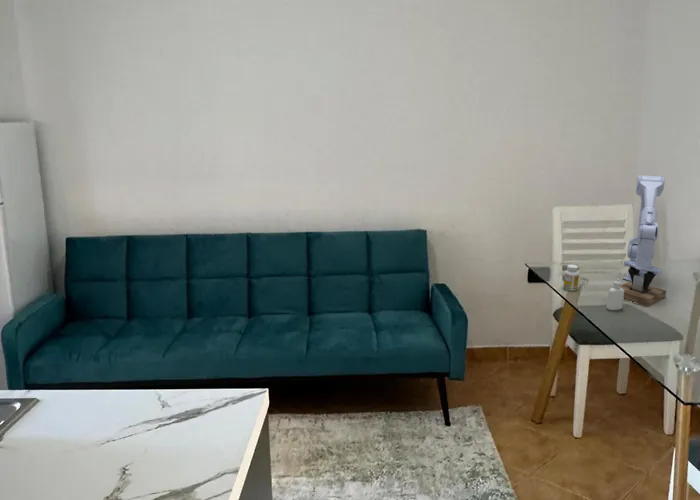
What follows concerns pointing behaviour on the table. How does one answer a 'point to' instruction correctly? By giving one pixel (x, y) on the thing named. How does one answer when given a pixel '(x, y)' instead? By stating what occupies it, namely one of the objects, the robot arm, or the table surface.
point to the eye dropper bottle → (615, 296)
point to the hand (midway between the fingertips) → (639, 287)
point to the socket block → (646, 298)
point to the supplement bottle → (571, 278)
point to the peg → (638, 283)
